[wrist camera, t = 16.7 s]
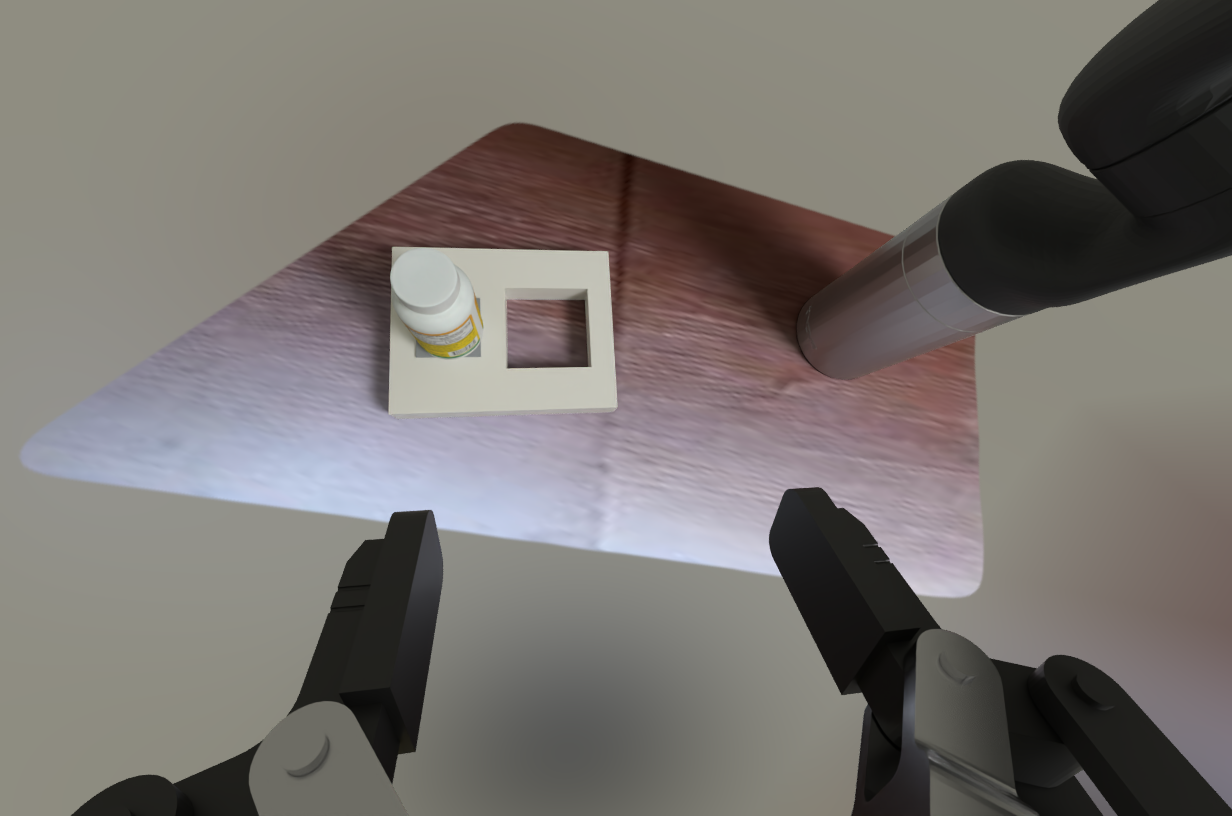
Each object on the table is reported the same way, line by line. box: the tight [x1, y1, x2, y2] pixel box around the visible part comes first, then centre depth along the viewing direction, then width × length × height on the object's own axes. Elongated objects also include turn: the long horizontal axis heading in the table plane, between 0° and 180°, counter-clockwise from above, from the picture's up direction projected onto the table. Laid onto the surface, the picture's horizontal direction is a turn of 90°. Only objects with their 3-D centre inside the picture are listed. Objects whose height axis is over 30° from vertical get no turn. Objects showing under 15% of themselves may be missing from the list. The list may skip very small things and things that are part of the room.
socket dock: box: [389, 247, 617, 419], centre depth 41 cm, size 18×14×3 cm
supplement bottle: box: [390, 248, 484, 360], centre depth 35 cm, size 5×5×10 cm
